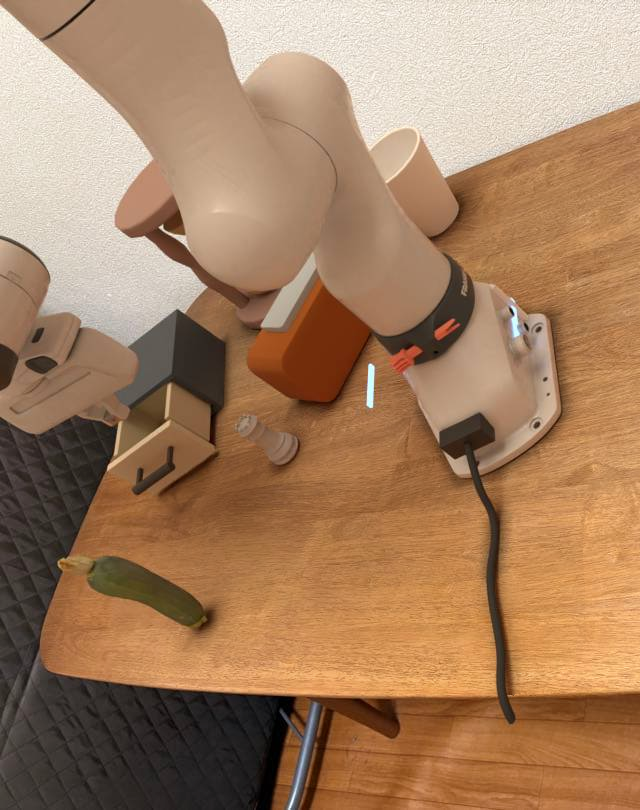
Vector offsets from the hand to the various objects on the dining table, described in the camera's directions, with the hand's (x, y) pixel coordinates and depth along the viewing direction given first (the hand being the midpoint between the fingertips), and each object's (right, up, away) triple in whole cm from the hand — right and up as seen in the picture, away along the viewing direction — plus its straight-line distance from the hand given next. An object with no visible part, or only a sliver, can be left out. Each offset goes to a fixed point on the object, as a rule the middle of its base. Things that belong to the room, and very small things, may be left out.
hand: (121, 418), depth 107 cm
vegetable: (+13, -24, -4) cm, 28 cm away
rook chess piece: (+20, -5, +6) cm, 21 cm away
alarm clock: (+27, +12, +12) cm, 32 cm away
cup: (+39, +29, +16) cm, 51 cm away
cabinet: (-2, +3, +28) cm, 28 cm away
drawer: (0, -5, +19) cm, 19 cm away
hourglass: (+11, +21, +31) cm, 39 cm away
